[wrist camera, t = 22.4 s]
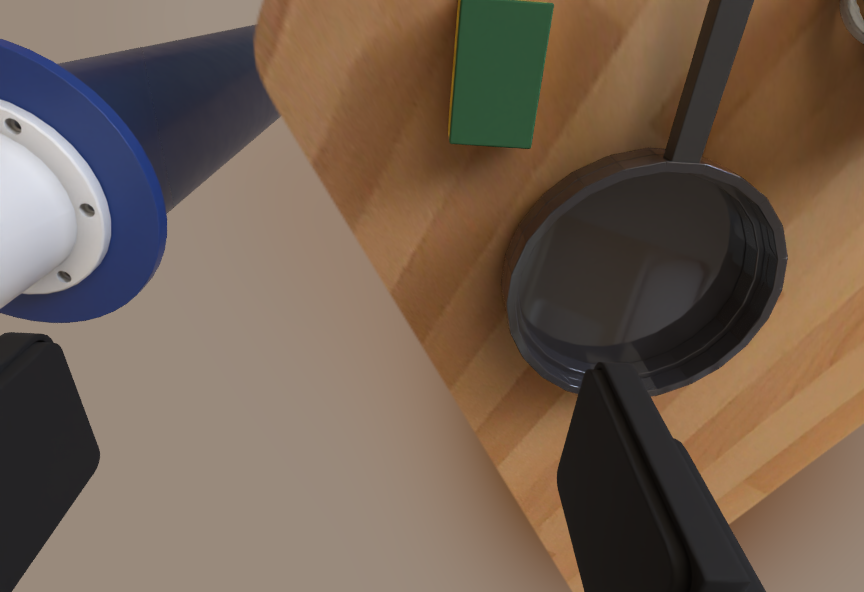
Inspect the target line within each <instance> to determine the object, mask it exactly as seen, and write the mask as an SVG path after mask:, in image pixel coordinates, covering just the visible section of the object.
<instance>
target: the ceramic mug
mask: <svg viewBox="0 0 864 592" xmlns="http://www.w3.org/2000/svg"><path fill="white" fill-rule="evenodd" d="M859 11H860V9H859V7H858V5H857V2H856V0H840V14H841V17H842V20H843V22H844V25H845V27H846V29H847V30H848V31H849V32H850V33H851V34H852V35H853V37H854V38H855V39H857V40H858V41H860V42H861V43H863V44H864V21H863V18H862V16H861V14H860V12H859Z"/></svg>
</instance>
